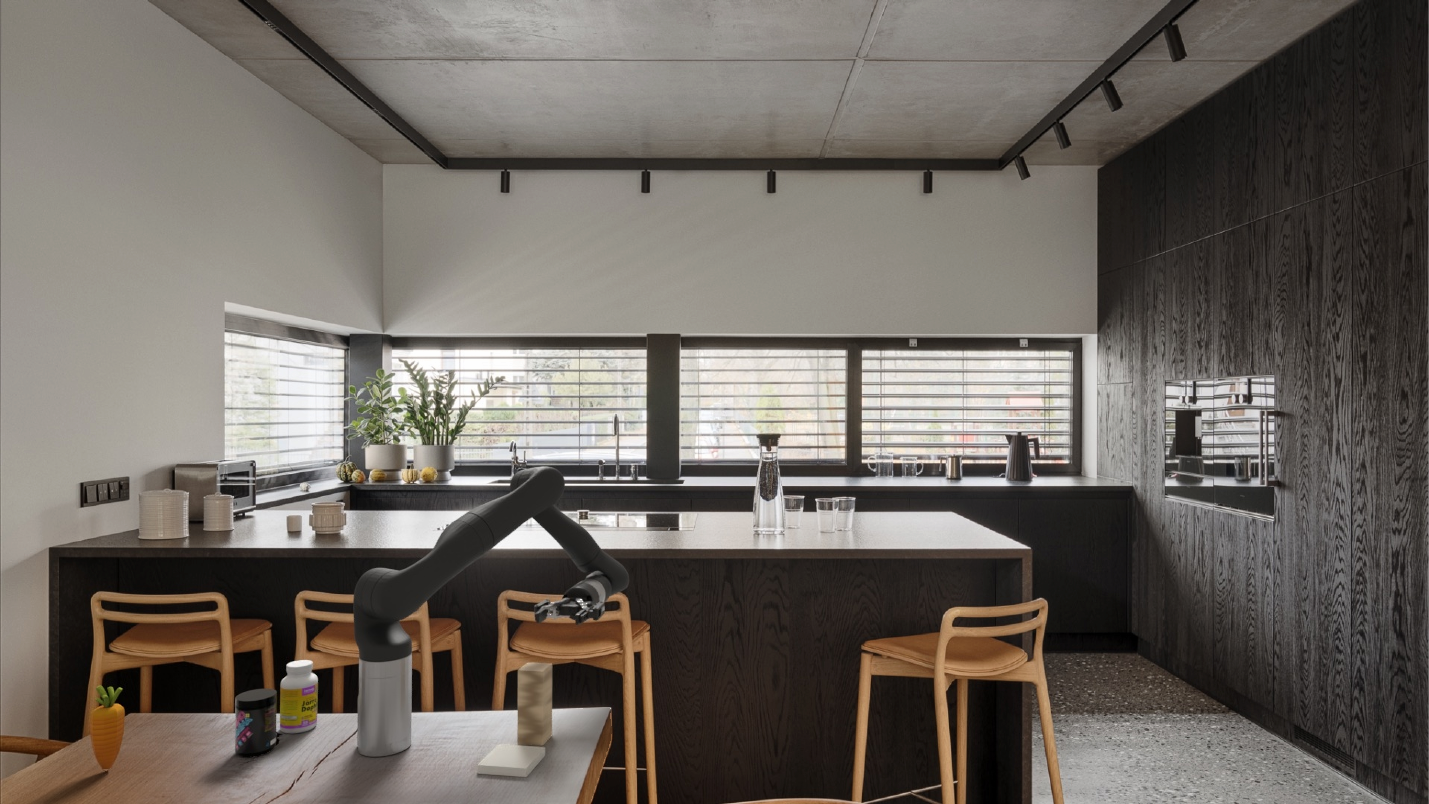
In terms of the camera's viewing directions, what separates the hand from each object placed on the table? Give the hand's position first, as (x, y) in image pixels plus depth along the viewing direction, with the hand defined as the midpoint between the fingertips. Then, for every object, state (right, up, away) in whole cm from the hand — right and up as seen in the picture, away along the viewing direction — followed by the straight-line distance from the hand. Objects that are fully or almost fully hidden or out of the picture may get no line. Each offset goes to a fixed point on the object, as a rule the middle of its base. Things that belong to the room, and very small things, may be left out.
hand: (557, 619), depth 166 cm
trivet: (-4, -20, -21) cm, 30 cm away
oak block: (-2, -20, -11) cm, 23 cm away
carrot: (-74, -20, -25) cm, 81 cm away
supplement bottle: (-51, -20, -5) cm, 55 cm away
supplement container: (-53, -20, -16) cm, 59 cm away
